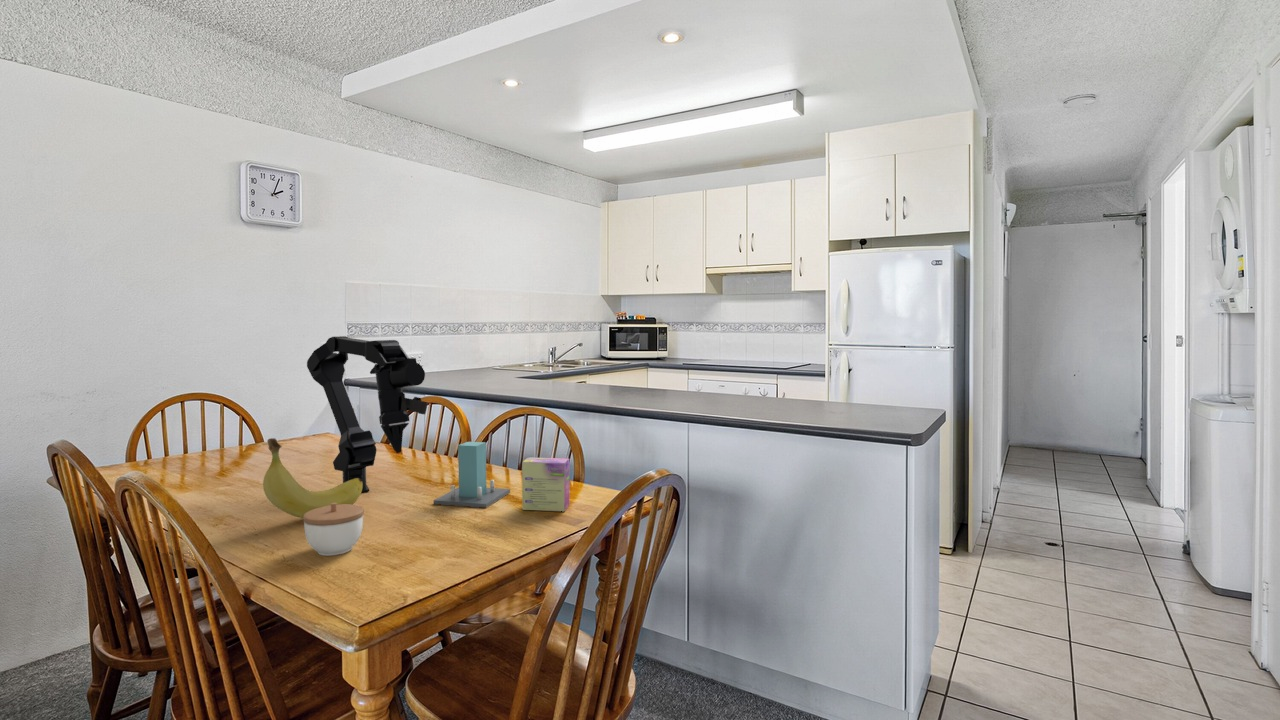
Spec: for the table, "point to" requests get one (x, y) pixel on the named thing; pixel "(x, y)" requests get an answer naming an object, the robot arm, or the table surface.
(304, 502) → the banana
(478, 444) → the teal block
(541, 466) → the box
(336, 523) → the lidded jar
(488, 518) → the table surface
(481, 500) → the base plate
